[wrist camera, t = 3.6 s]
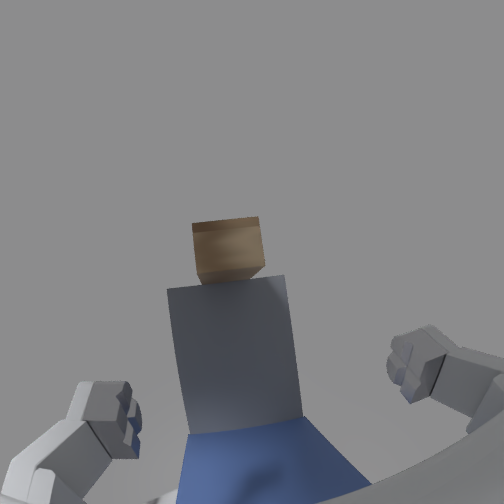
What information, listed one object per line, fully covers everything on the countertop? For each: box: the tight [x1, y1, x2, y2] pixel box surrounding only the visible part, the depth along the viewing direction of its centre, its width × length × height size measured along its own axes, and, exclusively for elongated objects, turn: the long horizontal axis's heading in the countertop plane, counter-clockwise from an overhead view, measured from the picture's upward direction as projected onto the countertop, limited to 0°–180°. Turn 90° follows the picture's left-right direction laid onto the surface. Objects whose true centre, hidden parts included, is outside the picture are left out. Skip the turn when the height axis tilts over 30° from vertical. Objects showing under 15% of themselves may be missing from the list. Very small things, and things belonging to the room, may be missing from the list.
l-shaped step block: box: [167, 275, 372, 504], centre depth 19 cm, size 10×24×28 cm, turn 7°
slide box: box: [192, 217, 265, 285], centre depth 28 cm, size 4×20×3 cm, turn 7°
